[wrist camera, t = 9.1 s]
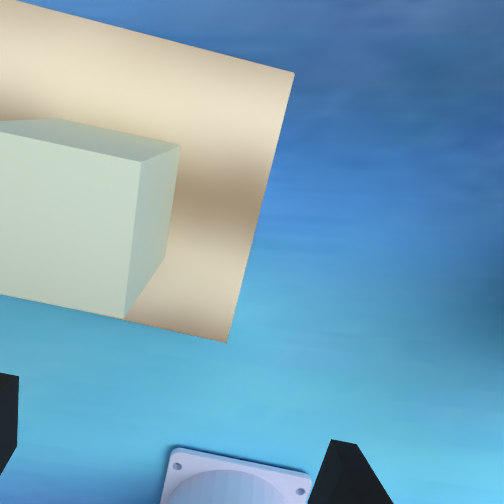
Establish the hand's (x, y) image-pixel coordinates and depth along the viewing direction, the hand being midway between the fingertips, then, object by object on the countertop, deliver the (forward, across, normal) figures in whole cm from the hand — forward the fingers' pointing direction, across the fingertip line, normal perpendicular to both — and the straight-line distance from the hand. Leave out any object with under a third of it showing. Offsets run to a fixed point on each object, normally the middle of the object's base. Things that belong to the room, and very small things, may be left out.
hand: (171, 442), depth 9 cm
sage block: (+8, +4, -3) cm, 10 cm away
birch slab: (+11, +4, -3) cm, 12 cm away
